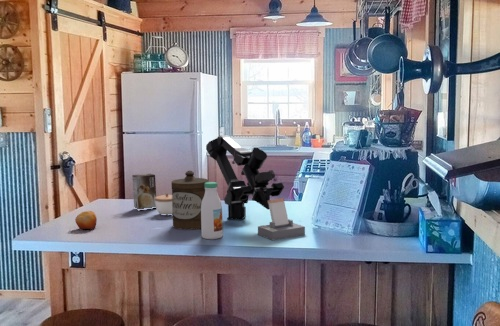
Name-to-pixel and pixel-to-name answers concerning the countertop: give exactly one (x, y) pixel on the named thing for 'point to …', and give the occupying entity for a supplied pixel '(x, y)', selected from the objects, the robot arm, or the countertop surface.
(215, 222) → the milk bottle
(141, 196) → the coffee box
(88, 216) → the fruit
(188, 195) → the wooden container
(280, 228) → the switch unit
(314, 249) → the countertop surface
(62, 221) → the countertop surface
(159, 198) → the lidded jar
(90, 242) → the countertop surface
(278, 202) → the lever
